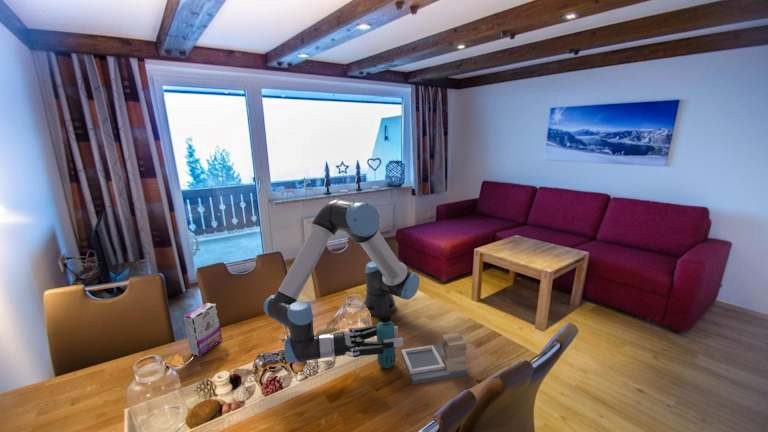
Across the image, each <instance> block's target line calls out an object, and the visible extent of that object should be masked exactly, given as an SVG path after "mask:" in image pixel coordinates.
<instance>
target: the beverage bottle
mask: <svg viewBox="0 0 768 432" xmlns="http://www.w3.org/2000/svg"><path fill="white" fill-rule="evenodd" d="M391 314H392V313H389V312H381V313H380V314H379V316H378V320H379V322H377V324H375V325H376V328H377V336H376V341H377V342H383V340H386V339H394V338H396V334H395V333H394V326H395V324H394V323H393V322H392V315H391ZM379 351H380V350H379ZM396 353H397V352H396V347H393V348H386V349H384V352H383V354H376V356H377V358H376V359H377V364H378V365H379V366H380V367H382V368H391V367H393V366H394V365H395V363H396V358H397V357H396Z"/></svg>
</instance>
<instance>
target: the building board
mask: <svg viewBox="0 0 768 432" xmlns="http://www.w3.org/2000/svg"><path fill="white" fill-rule="evenodd" d="M400 355H401V358H402V360H403V363H404V365H405V367H406V370H407V372H408V375H409V377H410V381H411V383H412V385H417V384H423V383H428V382H433V381H434V382H435V381H441V380H447V379H452V378H458V377H464V376H468V375H469V370H468V369H467V368H466V366H465V370H459V371H453V372H448V371H447V369H446V367H445V365H444V364H443V362H442V344H436V345H434V344H431V345H425V346H419V347H418V346H417V347H412V348H411V347H410V348H405V349H401V350H400Z"/></svg>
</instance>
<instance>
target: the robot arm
mask: <svg viewBox="0 0 768 432" xmlns="http://www.w3.org/2000/svg"><path fill="white" fill-rule="evenodd" d="M379 213H380V212H379V211H378V209H377V208H376V207H375V206H374V205H373V204H371V203H369V202H366V201H362V200H350V199H343V198H336V199H333V200H330V201H329V202H327V203H326V204H325V205H324V206H322V208H321V209H319V212H318V213H317V214H316V216H315V218H314V219H313V221H312V222H311V224H310V227H311V230H310V231H309V233H308V235H307V237H306V239H305V240H304V243H303V244H302V246H301V248H300V250H299V252H298V253H297V255H296V257H295V259H294V261H293V262H292V264H291V267H290V268H289V270H288V271H287V273H286V275H285V277H284V279H283V280H282V283H281V285H280V286H279V288H278V289H277V291H276V293H275V294H272V295H270V296H269V297H267V298H266V300H265V301H264V303H263V311H264V312H265V314H266V315H267V316H268V317H269V318H271V319H272V320H274V321H276V322H277V323H279V324H280V325H282V326H284V327H285V328H286V329H288V330H289V338H287V339H285V341H284V359H285V361H286V362H287V363H289V364H290V363H291V364H294V363H302V362H303V363H304V362H309V361H313V360H321V359H327V358H333V357H341V356H346V354H347V353H352V358H355V359H356V358H359V357H361V356H374V355H375V356H377V354H383V352H384V349H386V348H393V347H395V348H396V347H397V348H398V347H403V346H404V339H403V338H404V337H395V338H394V339H386V340H383V342H377V340H373V341H372V340H368V339H371V338H374V337H377V328H376V325H377V324H373V325H372V324H371V325H367V326H362V327H356V328H355V327H351V328H349V330H348V333H347V334H345V332H343V331H340V332H334V333H331V332H330V333H323V334H315V331H314V313H313V311H312V305H311V304H310V302H308V301H303V300H298V299H299V298H300V295H301V293H302V292H303V289H304V288H305V286H306V284H307V283H308V280H309V278H310V277H311V275H312V272H314V269H315V267H316V265H317V263H318V261H319V259H320V258H321V256H322V254H323V252H324V251H325V248H326V247H327V245H328V243H329V241H330V240H331V238H334V237H335V235H336V234H337V232H338V231H341V232H345V234H347V235H348V237H349V238H350V239H351V240H352V241H353V243H355V244H359V245H360V246H361V247H362V248H363V250H364V252H366V254H367V255H368V257H369V258H370V260H372V261H369V262H368V263H366V265H365V286H366V287H365V289H366V293H365V298H364V301H363V304H365V305H366V307H367V308H368V310H369V311H370V313H371V314H372V315H371V316H375V317H379V314H380V313H381V312H389V313H390V314H393V312H395V310H396V301H395V299H394V296H395V297H397V298H400V299H403V300H406V301H407V300H411V299H413V298H414V297H415V296H416V294H417V292H418V290H419V286H420V276H419V275H418V274H417V273H416V272H411V271H410V270H409V268H408V267H407V265H406V264H405V263H403V262H400V261H399V259H398V258H397V256H396V255H395V254H394V252H393V251H392V249H391V246H389V244H388V242H386V240H385V237H383V235H382V233H381V232H380V231H379V230H380V224H381V223H380V222H381V221H380V218H381V217H380V214H379ZM394 333H395V335H398V334H399V326H398V325H396V326H395V325H394ZM379 350H380V351H379Z"/></svg>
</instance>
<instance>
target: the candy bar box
mask: <svg viewBox="0 0 768 432" xmlns="http://www.w3.org/2000/svg"><path fill="white" fill-rule="evenodd" d="M217 308H218V307H217V303H213V302H212V303H211V302H206V303H204V304H203V305H201V306H199V307H197V308H196V309H193V310H192V311H190V312H189V313H187V314H185V315H184V316H183V321H184V326H185V330H186V331H185V332H186V335H187V336H186V337H187V341H188V347H189V350H190V355H191V354H196V355H199V356H200V355H202V354H203V353H204V352H205V351H207V350H208V349H210V348H211V347H212V346H214V345H215V344H216V343H218V342H219V341H220V340H221V339H222V340H223V336H222V331H221V325H220V319H219V313H218V309H217ZM218 344H219V343H218ZM214 347H215V346H214ZM210 350H211V349H210ZM207 352H208V351H207ZM203 355H204V354H203ZM203 355H202V356H203ZM199 356H198V357H199Z"/></svg>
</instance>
